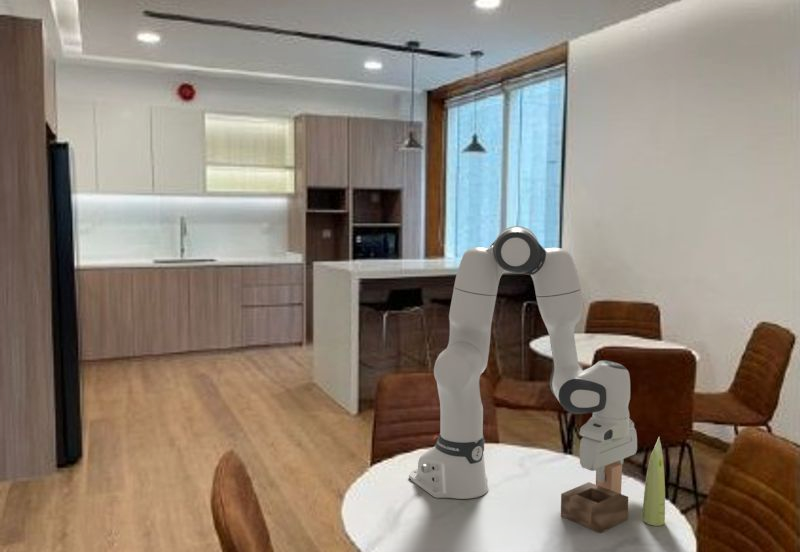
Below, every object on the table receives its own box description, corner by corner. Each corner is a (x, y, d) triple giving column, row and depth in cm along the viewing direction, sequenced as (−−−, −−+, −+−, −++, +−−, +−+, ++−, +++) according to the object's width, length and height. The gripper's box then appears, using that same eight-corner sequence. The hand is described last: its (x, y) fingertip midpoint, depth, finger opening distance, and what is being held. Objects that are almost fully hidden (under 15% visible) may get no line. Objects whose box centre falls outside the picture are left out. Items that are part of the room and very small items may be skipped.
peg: (595, 497, 167) (596, 463, 166) (605, 492, 170) (606, 459, 169) (610, 503, 163) (611, 468, 163) (620, 498, 166) (622, 464, 165)
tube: (671, 526, 151) (674, 444, 150) (651, 528, 150) (654, 446, 149) (656, 515, 157) (659, 436, 155) (637, 517, 156) (640, 437, 154)
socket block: (560, 515, 157) (561, 493, 156) (588, 503, 164) (588, 482, 163) (600, 533, 148) (601, 509, 148) (627, 519, 155) (628, 496, 155)
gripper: (622, 414, 174) (620, 465, 175) (575, 430, 161) (574, 484, 162) (644, 420, 169) (642, 472, 170) (597, 436, 156) (595, 492, 157)
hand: (608, 478), depth 166 cm, fingers closed on peg, 4 cm apart
